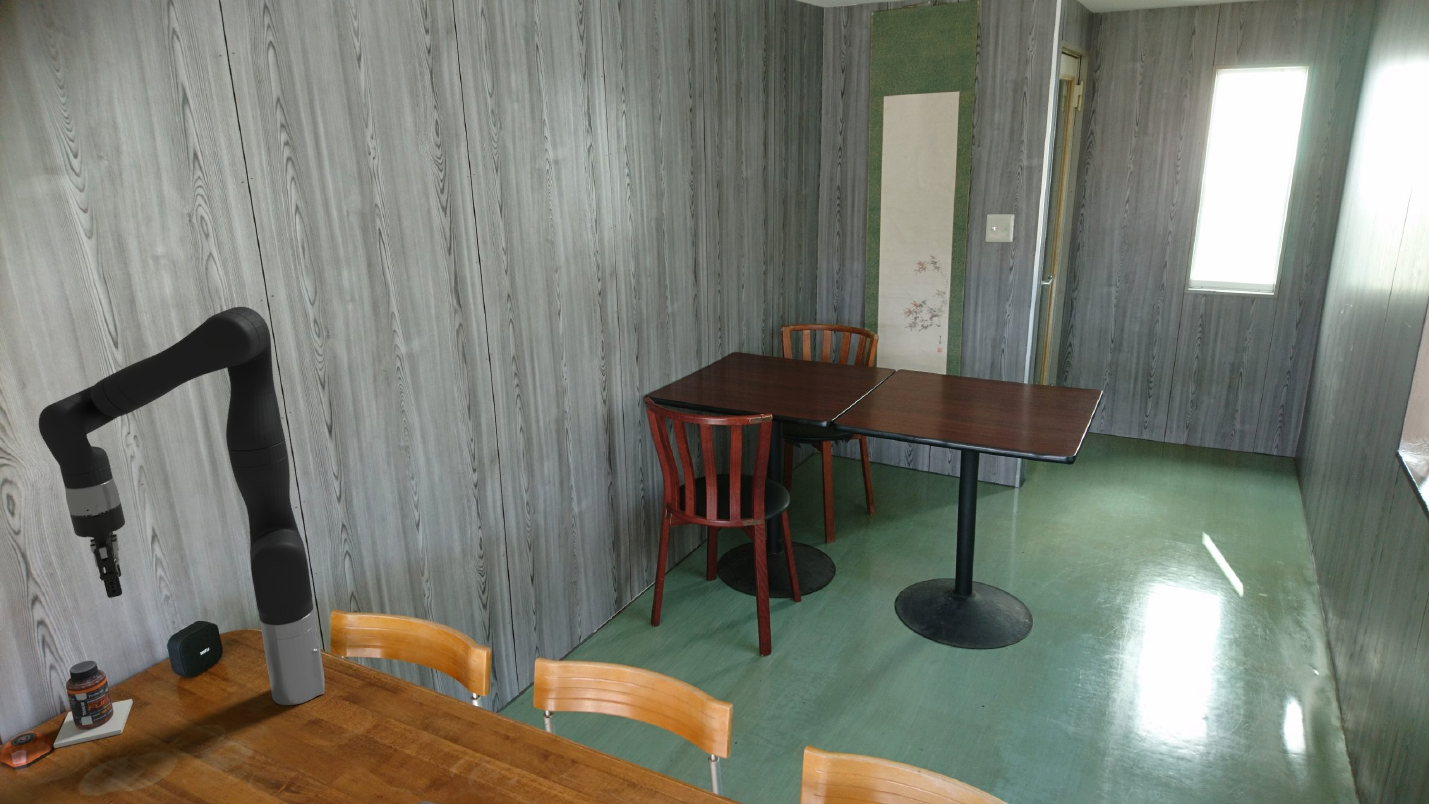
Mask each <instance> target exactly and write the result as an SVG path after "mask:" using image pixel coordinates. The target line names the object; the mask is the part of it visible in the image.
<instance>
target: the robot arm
mask: <svg viewBox="0 0 1429 804" xmlns="http://www.w3.org/2000/svg"><path fill="white" fill-rule="evenodd" d="M271 339H272V338H271V333H270V328H269V326H268V324H267V322H266V320H265V318H263V316H262V315H261V314H260V313H258V311H256V310H254V309H252V308H250V307H247V306H234V307H231V308H228V309H226V310H223V311H220V312H218V313H215V314H212V315H211V316H210V317H208V318H207V319H206V320H205V321H204V322H202V323H200V325H199V326H197V327H196V328H195V329H193V330H192V331H191V332H190V333H188V334H186V336H184V337H183V338H182V339H179V341H178V342H176V343H174V344H173V345H171V346H169V347H168V348H165V349H164V350H162V351H160V352H158V353H156V354H154V355H151V356H149V357H146V358H144V359H141V360H139V361H136V362H134V363H132V364H130V365H127V366H126V367H123V368H121V369H120V370H117V371H115V372H114V373H112V374H110V375H107V376H105V377H104V378H102V379H101V380H99V381H97V382H96V383H95V384H94V385H91V386H90V387H86V388H85V389H82V390H80V391H78V392H76V393H73V394H71V395H69V396H67V397H65V398H61V399H60V400H58V401H55V402H53V403H51V404H49V405H47V406H45V407H44V408H43V409H42V410H41V412H40V414H39V418H38V431H39V434H40V436H41V438H42V441H44V444H45V445H46V447H47V449H48V450H49V452H50V453H51V455H52V457H53V458H54V460H55V461H56V462H57V464H58V465H59V470H60V473H61V478H62V481H63V484H64V485H63V486H64V489H65V500H66V504H67V507H68V508H67V509H68V512H69V517H70V520H71V524H72V528H73V532H74V534H75V535H76V536H77V537H79V538H90V539H89V540H90V541H89V542H90V545H89V546H90V552H91V553H92V555H93V559H94V565H95V567H96V568H97V569H98V572H99V579H100V581H101V582H102V581H103V583H104V585H103V586H104V588H105V593H106V596H107V598H109V599H112V598H116V597H121V596H122V595H123V589H122V585H121V581H120V578H121V576H122V571H121V567H120V558H119V556H120V555H119V551H120V550H119V547H120V546H119V539H118V535H117V533H114V532H117V531H118V530H120V529H121V528H123V527H124V526H125V524H126V519H125V516H124V515H125V514H124V511H123V506H122V502H121V497H120V494H119V490H118V487H117V486H118V485H116V482H115V480H114V476H113V472H112V467H111V465H110V463H111V462H110V459H109V457H108V453H107V451H106V450H105V449H104V448H102V447H100V446H99V447H98V446H95V445H94V446H93V445H91V443H90V441H89V439H88V434H91V433H92V432H94V431H96V430H98V429H100V428H102V427H103V426H105V425H107V424H109V423H110V422H112V421H114V420H116V419H118V418H119V417H122V416H126V415H128V414H131V413H132V412H134V411H137V410H139V409H141V408H142V407H144V406H146V405H148V404H150V403H152V402H154V401H157V400H158V399H160V398H161V397H163V396H164V395H166V394H168V393H169V392H171V391H173V390H174V389H176V388H177V387H179V386H182V385H183V384H185V383H187V382H189V381H192V380H195V379H196V378H198V377H201V376H205V375H207V374H210V373H214V372H217V371H220V370H224V369H227V372H228V373H227V374H228V378H229V383H230V384H229V385H230V396H229V397H230V398H229V404H228V409H227V411H228V412H227V419H226V429H225V439H226V445H227V452H228V455H229V456H228V457H229V460H230V461H229V463H230V465H231V469H232V470H231V471H232V474H233V477H234V480H235V482H236V484H237V488H238V490H239V492H240V494H241V496H242V499H243V502H244V504H245V507H246V511H247V516H248V525H249V541H250V543H249V545H250V546H249V548H250V550H249V558H250V559H249V560H250V572H251V579H252V584H253V591H254V598H255V601H256V609H257V613H258V618H259V622H260V623H259V624H260V630H261V636H262V642H263V649H264V655H265V662H266V667H267V672H268V680H269V684H270V685H269V686H270V692H271V698H272V700H273V702H274V703H276V704H278V705H280V706H293V705H298V704H303V703H306V702H309V701H310V700H312V699H314V698H316V697H317V696H321V695H324V694H325V672H324V665H323V659H322V658H323V657H322V651H321V650H322V649H321V645H320V644H321V643H320V637H319V636H318V631H317V626H316V622H317V621H316V617H315V610H314V602H313V591H312V585H311V578H310V570H309V564H308V557H307V553H306V552H307V551H306V547H305V544H304V541H303V538H302V537H301V534H300V531H299V528H298V524H297V522H296V518H295V515H294V512H293V511H294V510H293V507H292V504H291V498H290V497H291V496H290V495H291V494H290V493H291V492H290V490H291V489H290V488H291V487H290V484H291V483H290V482H291V475H290V474H291V472H290V461H289V454H288V453H289V452H288V448H287V441H286V437H285V432H284V429H283V423H282V419H281V418H282V417H281V413H280V407H279V401H278V398H277V392H276V388H275V383H274V373H273V355H272V342H271V341H272V340H271Z"/></svg>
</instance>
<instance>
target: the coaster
mask: <svg viewBox="0 0 1429 804" xmlns="http://www.w3.org/2000/svg"><path fill="white" fill-rule="evenodd" d="M133 702H134V701H133V699H132V698H129V699H126V700H120V701H115V702H113V703H112V706H113V711H114V714H113V716H112V717H111V718H110V719H109V720H108V721H107V722H105V723H103V724H101V725H99V726H96V727H93V728H88V729H82V728H78V727H76V726H75V723H74V720H73V716H72V711H68V712H67V715H66V717H65V719H64V722H63V723H62V725H61V728H60V730H59V732H58V735H57V737H56V739H55V740H54V743H53V748H54V749H57V748H62V747H66V746H67V747H68V746H71V745H75V744H80V743H86V742H89V741H94V740H98V739H103V738H107V737H112V736H116V735H121V734H123V731H124V728H125V726H126V722H127V720H128V717H129V715H130V712H131V708H132V706H133Z"/></svg>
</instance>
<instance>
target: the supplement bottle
mask: <svg viewBox="0 0 1429 804" xmlns="http://www.w3.org/2000/svg"><path fill="white" fill-rule="evenodd" d="M69 676H70V678H69V679H68V680H67V681H66V684H65V690H66V694H67V698H68V702H69V706H70V710H71V711H72V716H73V720H74V723H75V726H76V727H78V728H82V729H88V728H93V727H96V726H99V725H101V724H103V723H105V722H107V721H108V720H109V719H110V718H111V717H112V716H113V714H114V711H113V706H112V703H114V702H113V701H112V696H111V693H110V688H109V683H108V680H107V674H106V673H105V671H103V670H101V669H99V668H98V664H97V662H96V660H95V661H94V660H84V661H79V662H78V663H75V664H74V665H72V666H71V667H70V668H69ZM71 711H70V712H71Z"/></svg>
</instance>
